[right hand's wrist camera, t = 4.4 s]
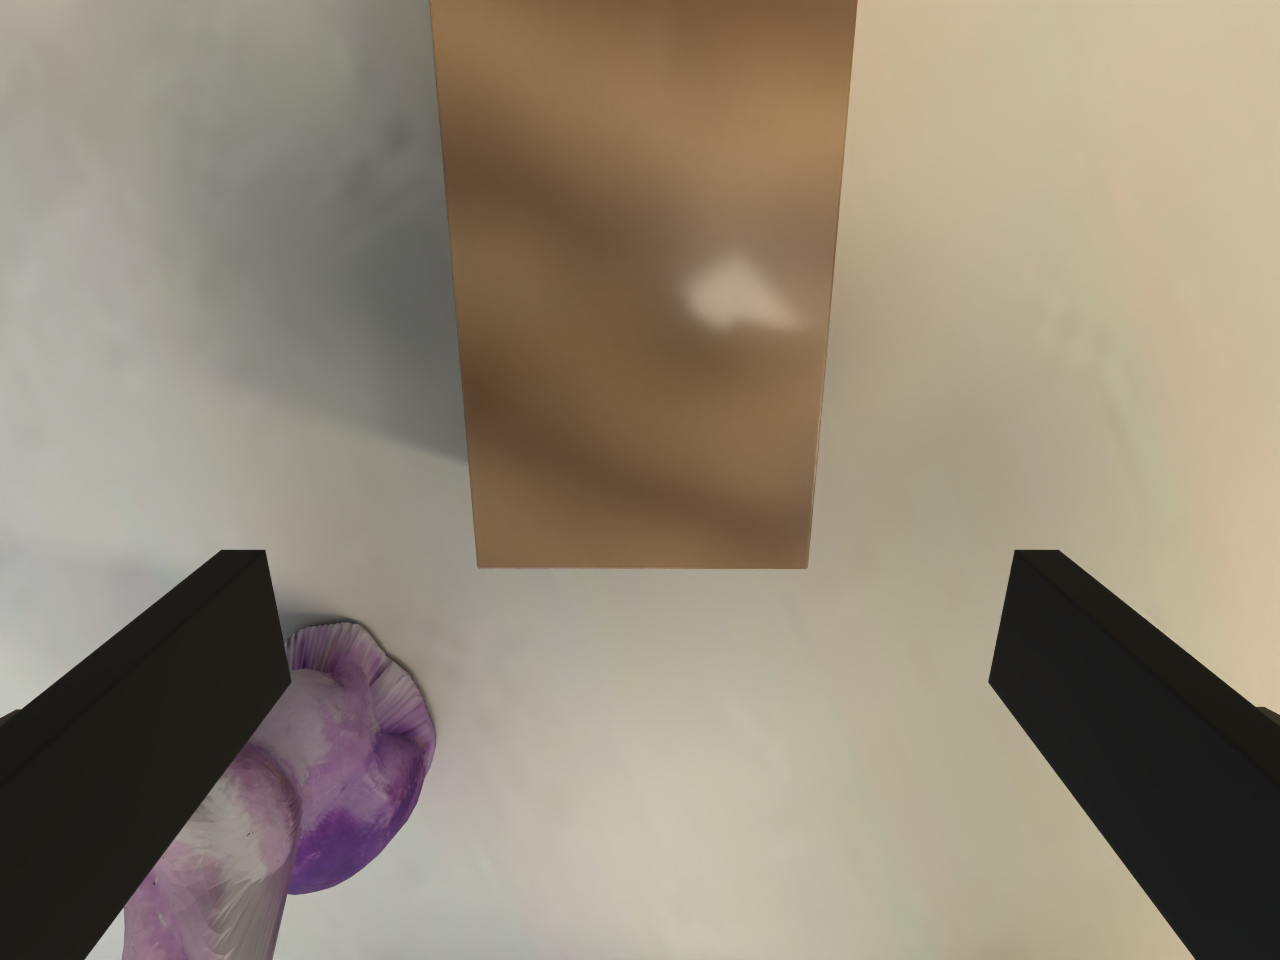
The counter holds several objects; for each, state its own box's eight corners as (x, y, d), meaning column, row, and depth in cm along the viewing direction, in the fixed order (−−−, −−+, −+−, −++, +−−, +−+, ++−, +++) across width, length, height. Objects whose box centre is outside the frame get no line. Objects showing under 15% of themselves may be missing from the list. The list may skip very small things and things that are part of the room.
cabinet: (481, -135, 23) (401, -314, 15) (805, -136, 23) (886, -315, 15) (518, 481, 30) (476, 569, 23) (765, 481, 30) (808, 569, 22)
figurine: (291, 574, 31) (5, 860, 17) (485, 693, 34) (373, 1034, 19) (196, 715, 34) (-120, 1065, 20) (383, 817, 36) (217, 1200, 22)
